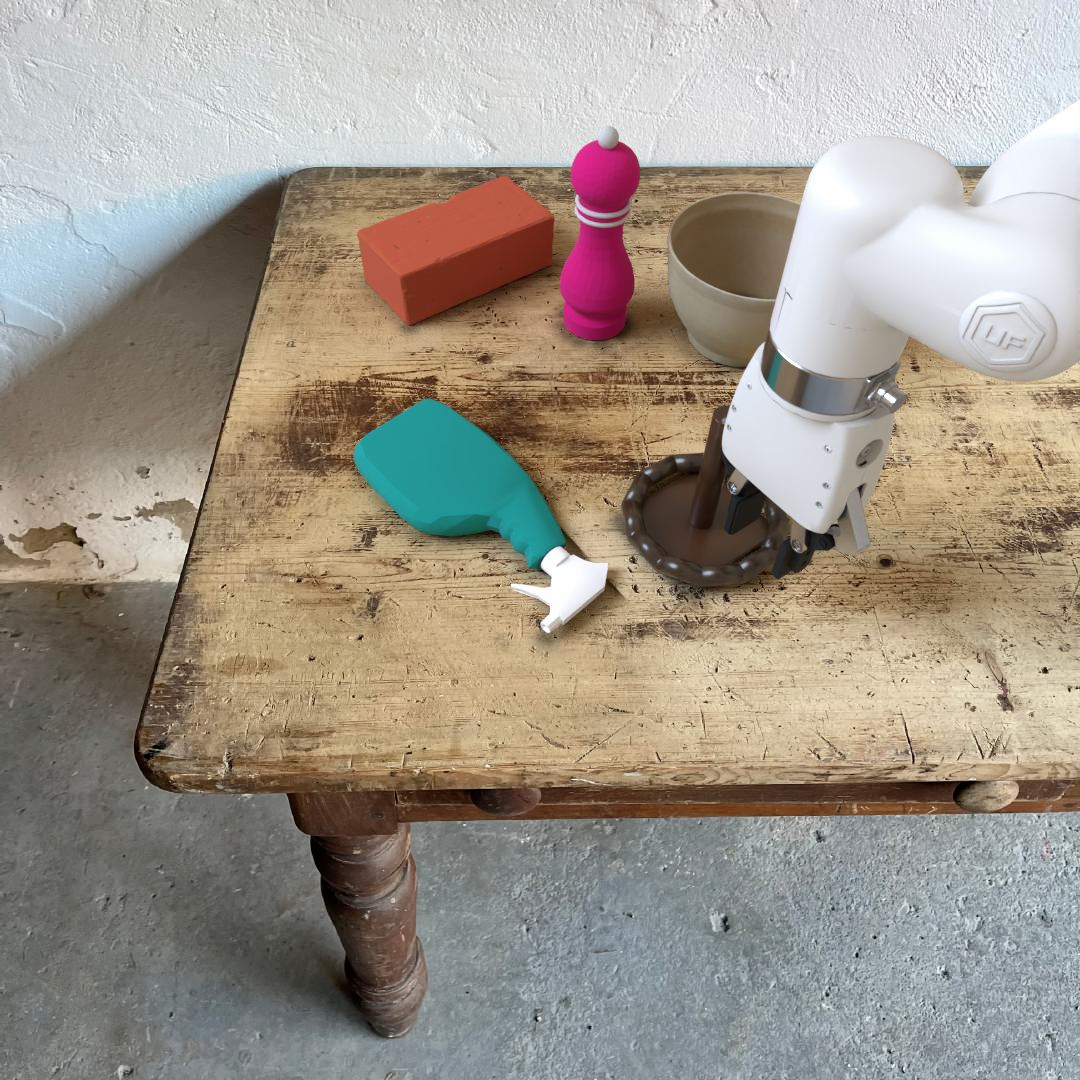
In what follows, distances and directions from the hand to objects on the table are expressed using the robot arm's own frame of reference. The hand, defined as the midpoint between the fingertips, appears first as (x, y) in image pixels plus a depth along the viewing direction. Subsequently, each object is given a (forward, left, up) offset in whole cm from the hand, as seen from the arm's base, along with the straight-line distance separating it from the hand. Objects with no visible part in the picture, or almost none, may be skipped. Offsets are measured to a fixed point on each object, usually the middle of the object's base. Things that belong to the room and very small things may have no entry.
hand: (764, 544), depth 67 cm
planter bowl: (+22, -19, -5) cm, 30 cm away
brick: (+47, -2, -5) cm, 47 cm away
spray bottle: (+17, +14, -5) cm, 23 cm away
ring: (+6, 0, -3) cm, 7 cm away
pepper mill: (+32, -9, -5) cm, 34 cm away
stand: (+6, 0, -5) cm, 8 cm away
